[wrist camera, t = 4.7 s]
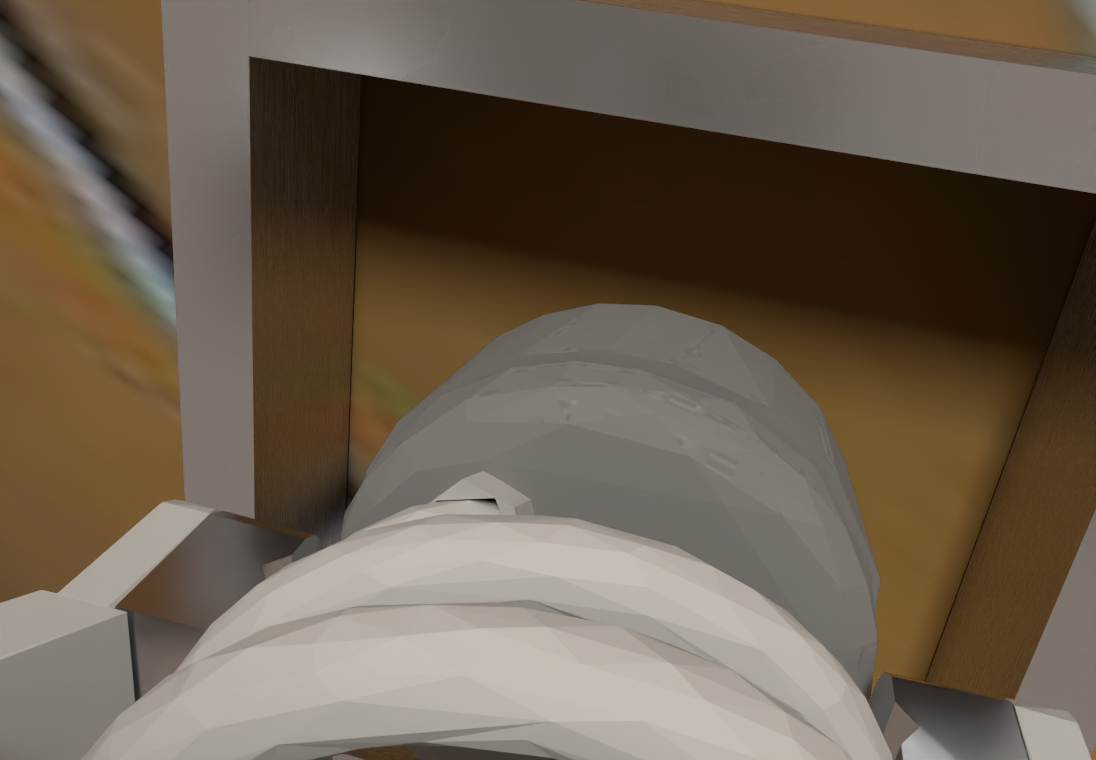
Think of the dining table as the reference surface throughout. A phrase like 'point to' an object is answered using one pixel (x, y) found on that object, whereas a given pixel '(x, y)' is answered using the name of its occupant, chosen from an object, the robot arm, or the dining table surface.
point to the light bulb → (562, 574)
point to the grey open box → (634, 92)
